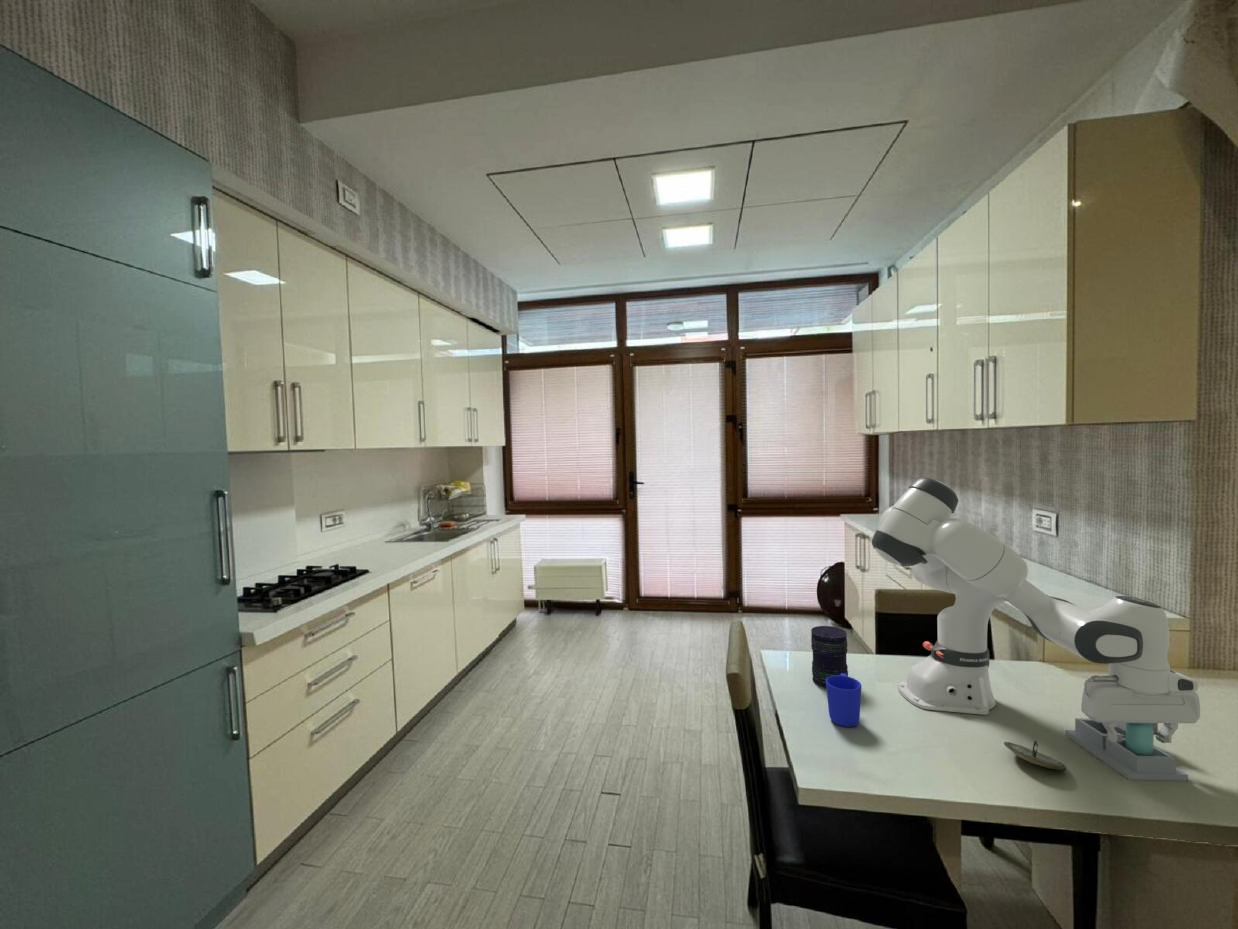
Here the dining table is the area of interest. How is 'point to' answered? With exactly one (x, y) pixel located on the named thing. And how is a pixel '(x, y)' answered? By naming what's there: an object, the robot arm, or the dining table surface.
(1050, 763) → the lid
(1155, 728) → the slide lid
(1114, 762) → the housing
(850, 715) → the mug
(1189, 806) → the dining table surface
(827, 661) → the storage jar
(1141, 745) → the jaw peg
